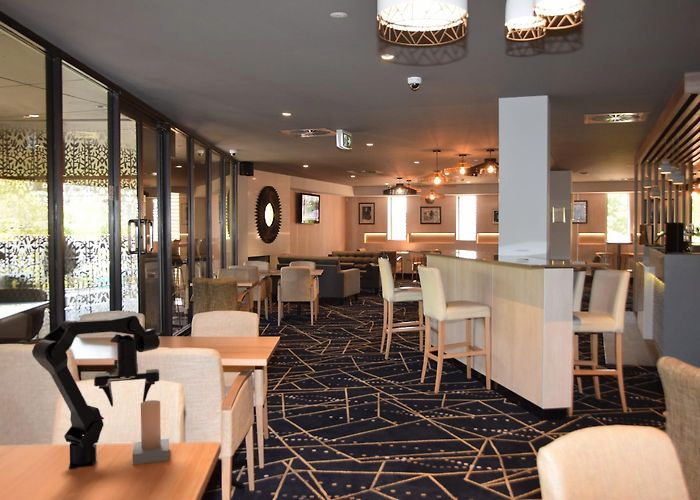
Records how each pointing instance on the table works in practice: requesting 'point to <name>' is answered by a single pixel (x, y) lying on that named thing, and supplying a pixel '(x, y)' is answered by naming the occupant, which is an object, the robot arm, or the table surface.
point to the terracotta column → (150, 425)
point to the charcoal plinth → (151, 453)
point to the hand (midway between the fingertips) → (128, 404)
